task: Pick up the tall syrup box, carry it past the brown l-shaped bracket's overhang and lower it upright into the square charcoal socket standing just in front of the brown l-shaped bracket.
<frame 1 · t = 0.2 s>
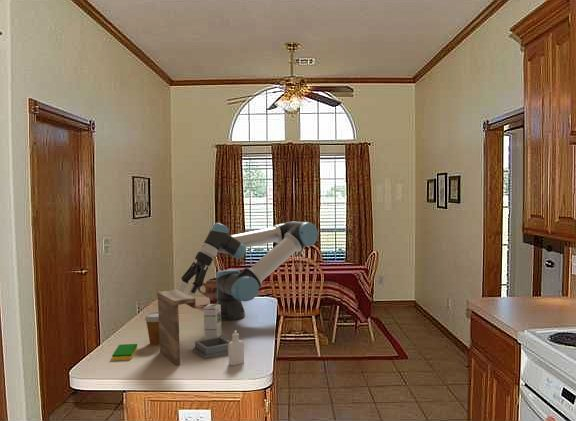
hand: (182, 297, 234), 16 cm above the counter, tool tilted 35°, fingers open, 13 cm apart
dish sponge: (125, 355, 206), on the counter
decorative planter: (215, 304, 291), on the counter
socket: (214, 351, 207), on the counter
brown l-shaped bracket: (177, 356, 201), on the counter
disposable coffee cup: (157, 343, 220), on the counter
eye dropper bottle: (236, 363, 192), on the counter
syrup box: (213, 340, 223), on the counter
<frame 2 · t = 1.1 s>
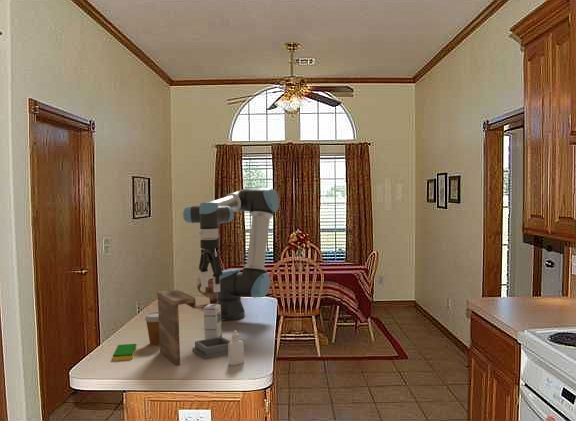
hand: (210, 289, 222), 21 cm above the counter, tool pointing down, fingers open, 13 cm apart
nothing on the counter moved.
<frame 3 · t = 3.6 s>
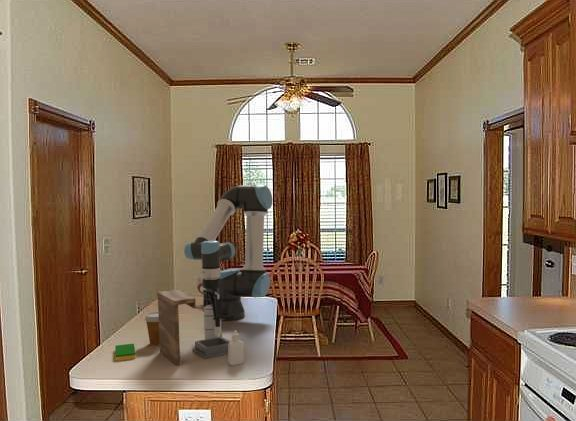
hand: (213, 331, 223), 3 cm above the counter, tool pointing down, fingers closed on syrup box, 8 cm apart
syrup box: (213, 339, 223), on the counter, touching gripper
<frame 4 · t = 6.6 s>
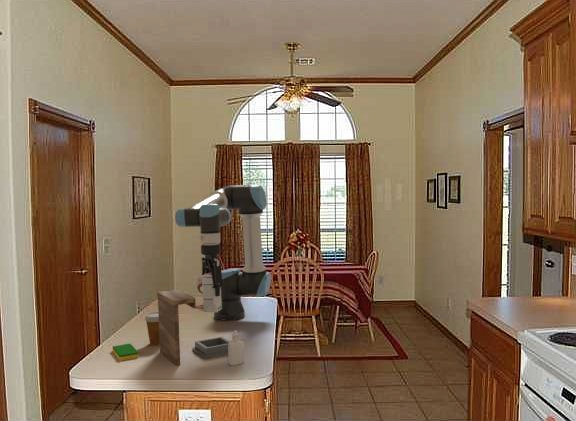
hand: (212, 302, 206), 19 cm above the counter, tool pointing down, fingers closed on syrup box, 8 cm apart
syrup box: (212, 311, 206), point 16 cm above the counter, touching gripper
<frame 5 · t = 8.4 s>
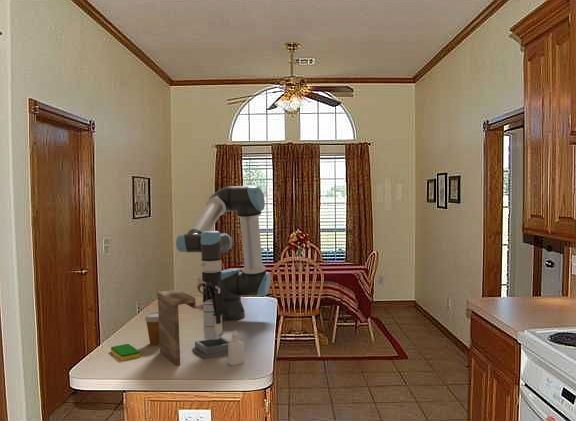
hand: (213, 329, 206), 9 cm above the counter, tool pointing down, fingers closed on syrup box, 8 cm apart
syrup box: (213, 337, 206), point 5 cm above the counter, touching gripper
when the fingers open (6 cm above the counter, at t = 9.9 s): syrup box drops 1 cm, resting on socket.
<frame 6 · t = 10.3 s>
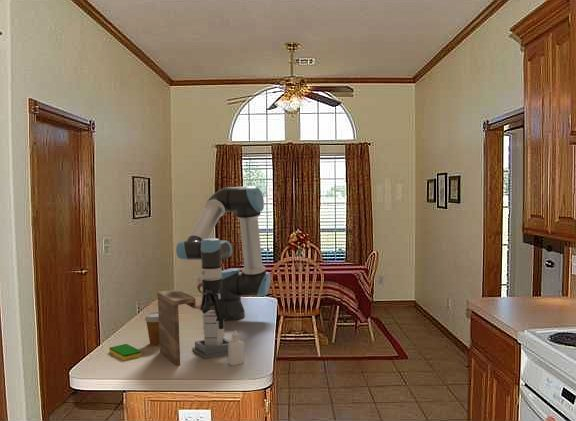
hand: (213, 333, 206), 7 cm above the counter, tool pointing down, fingers open, 13 cm apart
syrup box: (214, 348, 207), point 1 cm above the counter, touching socket
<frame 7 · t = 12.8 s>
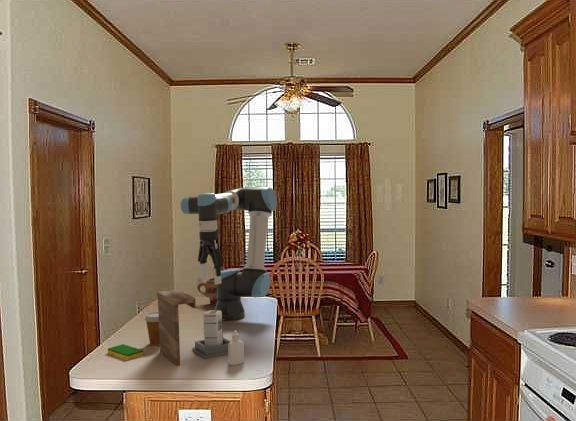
hand: (211, 281, 221), 25 cm above the counter, tool pointing down, fingers open, 13 cm apart
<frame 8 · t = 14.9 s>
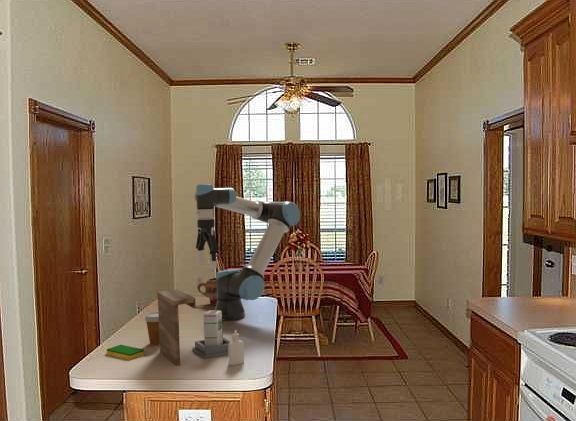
hand: (207, 266, 235), 29 cm above the counter, tool pointing down, fingers open, 13 cm apart
at the end: syrup box 0.3 cm off-centre on the socket, point 0.8 cm above the socket's base; syrup box tilted 0°; the gripper is holding nothing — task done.
